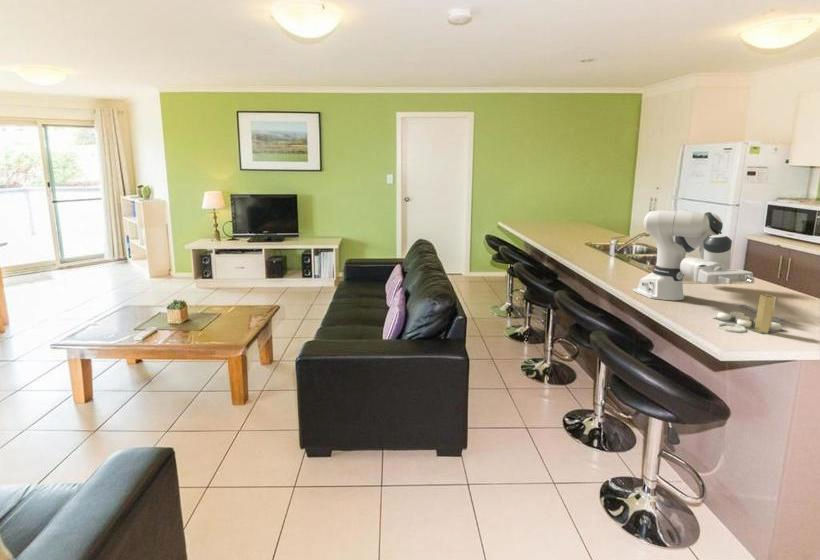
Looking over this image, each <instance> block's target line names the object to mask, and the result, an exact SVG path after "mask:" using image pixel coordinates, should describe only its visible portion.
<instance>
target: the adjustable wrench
mask: <svg viewBox="0 0 820 560" xmlns="http://www.w3.org/2000/svg"><path fill="white" fill-rule="evenodd" d="M738 308H740V309H742V308H743V309H742V310H744V309H745V311H747V310H748V311H747V312H749V311H750V312H749V313H752V314H754V315H755V316H757V310H758V308H757V309H756V308H754V307H752V306H749V305H746V304H739V307H738ZM772 322H776V323H779V324H781V325H784V324H785V323H789V324H790V323H791V321H790V320H788V319H787V318H784V317H777V316H774V315H773V318H772ZM785 325H786V324H785Z"/></svg>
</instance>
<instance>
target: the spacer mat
mask: <svg viewBox="0 0 820 560" xmlns="http://www.w3.org/2000/svg"><path fill="white" fill-rule="evenodd" d="M712 319H714V320H716V321H720V322H721V323H732V324H737V325H740V326H743V327H745V329H746V331H751V332H754V333H757V334H760V335H768V334H775V333H782V332H787V330H786V329H782V324H780V323H776V322H773V321H772V323H771V329H770V332H769V333H768V334H767V333H759V332H757V331H754V328H755V322H756V317H755V318H753V320H752V319H751V317H749V316H746V315H745V313H744V312H741V311H735V310H733V311H730V313H727V312H717V316H716V317H712Z"/></svg>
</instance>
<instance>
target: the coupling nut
mask: <svg viewBox="0 0 820 560" xmlns="http://www.w3.org/2000/svg"><path fill="white" fill-rule="evenodd" d="M758 299H759V300H758V305H757V315H755V316H756V317H755V318H756V322H755V328H754V331H757V332H759V333H767V334H766V335H768V333H769V332H770V329H771V323H772V322H773V321H772V318H773V316H774V311H775V307H776V305H775V304H776V300H777V296H775V295H771V294H761V295H759V298H758ZM759 333H758V334H759Z"/></svg>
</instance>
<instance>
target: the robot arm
mask: <svg viewBox="0 0 820 560" xmlns="http://www.w3.org/2000/svg"><path fill="white" fill-rule="evenodd" d="M642 225H643V228H644V230H645V231H646V232H647V233H648V234H649V235H650V236H651V237H652V238H653V240H654V241H655V245H656V249H657V252H656V254H657V256H656V264H655V265H651V269H652V272H651V273H649V274H647V275H645V276H643V277H641V278H640V280H639V282H638V286H637V287H634V288H632V291H633V292H634V293H637V294H639V295H642V296H644V297H646V298H649V299H651V300H664V301H682V300H684V299H685V296H684V280H683V278H684V277H685V276H686V277H688V278H691V279H693V282H694V283H698V284H699V283H701V284H702V283H703V284H710V285H713V286H714V285H715V286H717V285H718V284H724V283H725V284H728V285H729V284H733V283H744V282H745V283H746V282H747V283H754V282H755V278H754V273H753V271H748V270H744V269H738V268H737V269H736V268H735V269H734V268H733V269H732V268H731V259H732V246H733V245H732V244H733V240H732V239H731V238H730V237H729V236H727V235H724V234H723V233H722V230H723V228H724V227H723V221H722V219H721V218H720V216H718V215H717V214H715V213H712V212H710V211H709V212H705V213H701V212H696V211H691V210H687V209H678V210H669V209H668V210H666V209H658V210H650V211H649V212H647V213H646V215H645V216H644V218H643V222H642ZM673 237H674V239H673ZM698 248H699V249H698ZM696 249H698V252H699V257H694V256H693V257H692V256H687V257H686V253H688V254H689V253H692V252H693V251H695V250H696Z"/></svg>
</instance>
